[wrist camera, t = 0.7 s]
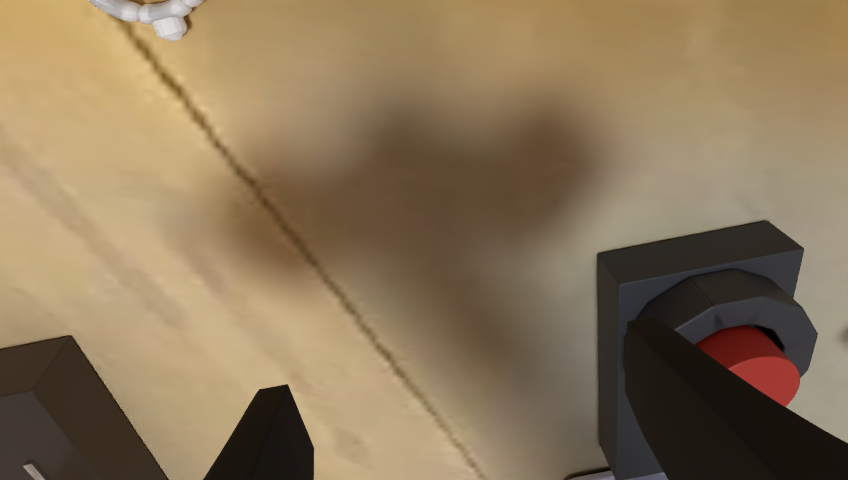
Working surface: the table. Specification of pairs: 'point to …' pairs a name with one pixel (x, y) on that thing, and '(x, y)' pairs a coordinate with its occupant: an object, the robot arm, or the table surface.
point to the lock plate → (64, 420)
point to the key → (152, 14)
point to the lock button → (754, 360)
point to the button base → (693, 313)
